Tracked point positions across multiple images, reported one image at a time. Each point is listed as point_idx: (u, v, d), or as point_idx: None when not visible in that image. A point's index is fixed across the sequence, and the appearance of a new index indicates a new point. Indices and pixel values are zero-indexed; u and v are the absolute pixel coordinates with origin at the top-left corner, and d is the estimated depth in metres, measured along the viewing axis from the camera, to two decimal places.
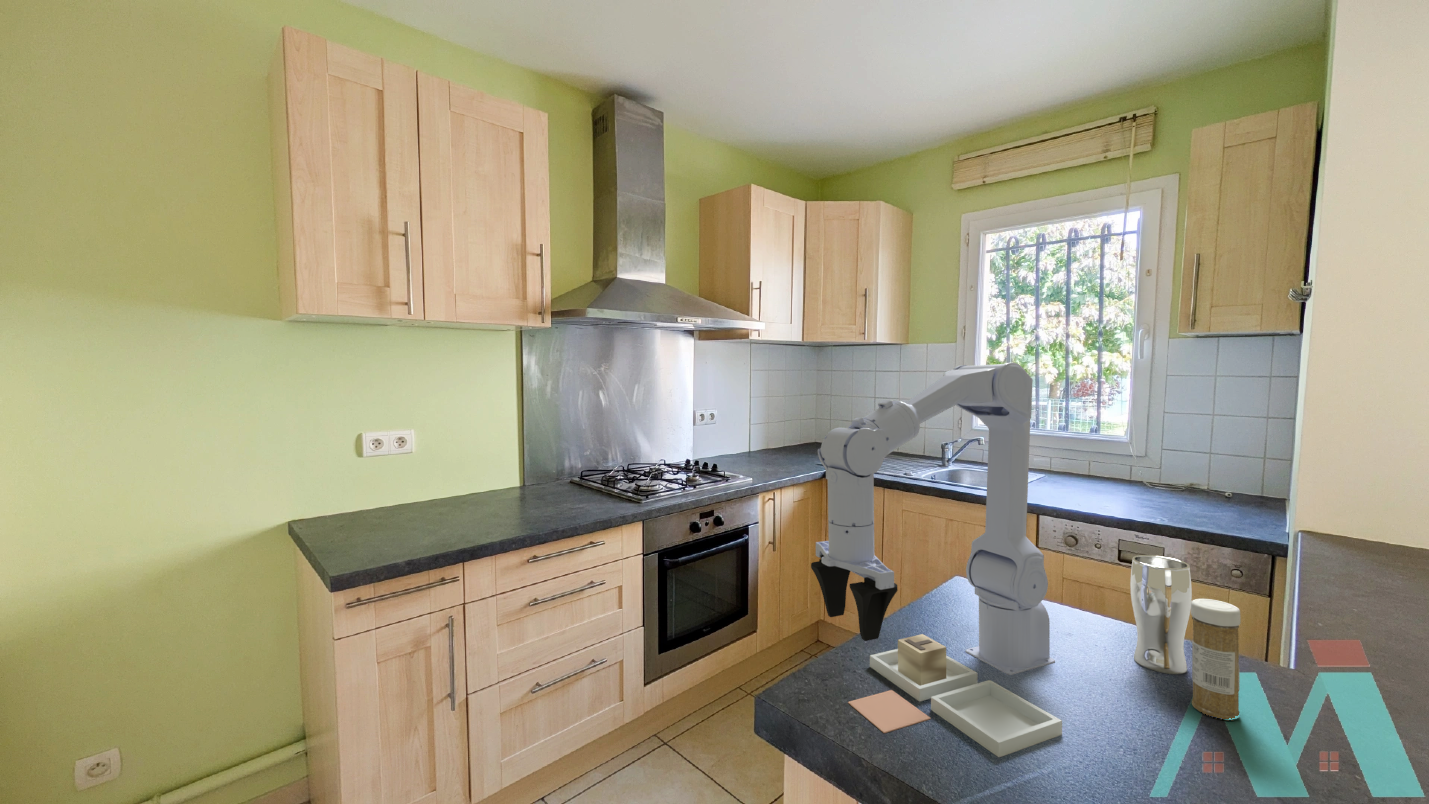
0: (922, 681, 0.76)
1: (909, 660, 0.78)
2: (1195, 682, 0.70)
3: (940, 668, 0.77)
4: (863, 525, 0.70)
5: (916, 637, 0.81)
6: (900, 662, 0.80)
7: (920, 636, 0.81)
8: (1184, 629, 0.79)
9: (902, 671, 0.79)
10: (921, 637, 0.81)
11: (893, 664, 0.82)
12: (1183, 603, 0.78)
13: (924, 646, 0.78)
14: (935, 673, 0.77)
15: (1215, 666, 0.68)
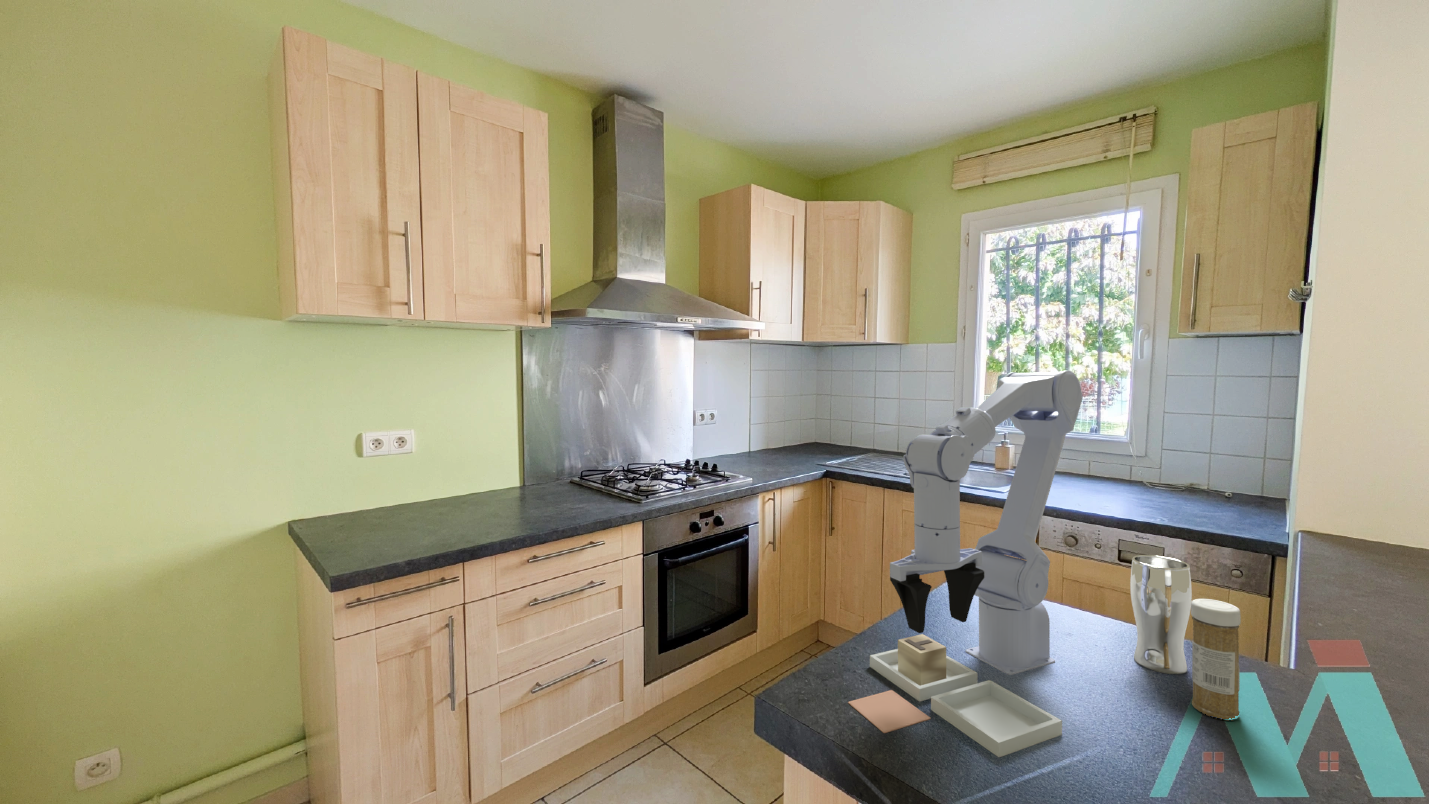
0: (922, 681, 0.76)
1: (909, 660, 0.78)
2: (1195, 682, 0.70)
3: (940, 668, 0.77)
4: (920, 525, 0.75)
5: (916, 637, 0.81)
6: (900, 662, 0.80)
7: (920, 636, 0.81)
8: (1184, 629, 0.79)
9: (902, 671, 0.79)
10: (921, 637, 0.81)
11: (893, 664, 0.82)
12: (1183, 603, 0.78)
13: (924, 646, 0.78)
14: (935, 673, 0.77)
15: (1215, 666, 0.68)
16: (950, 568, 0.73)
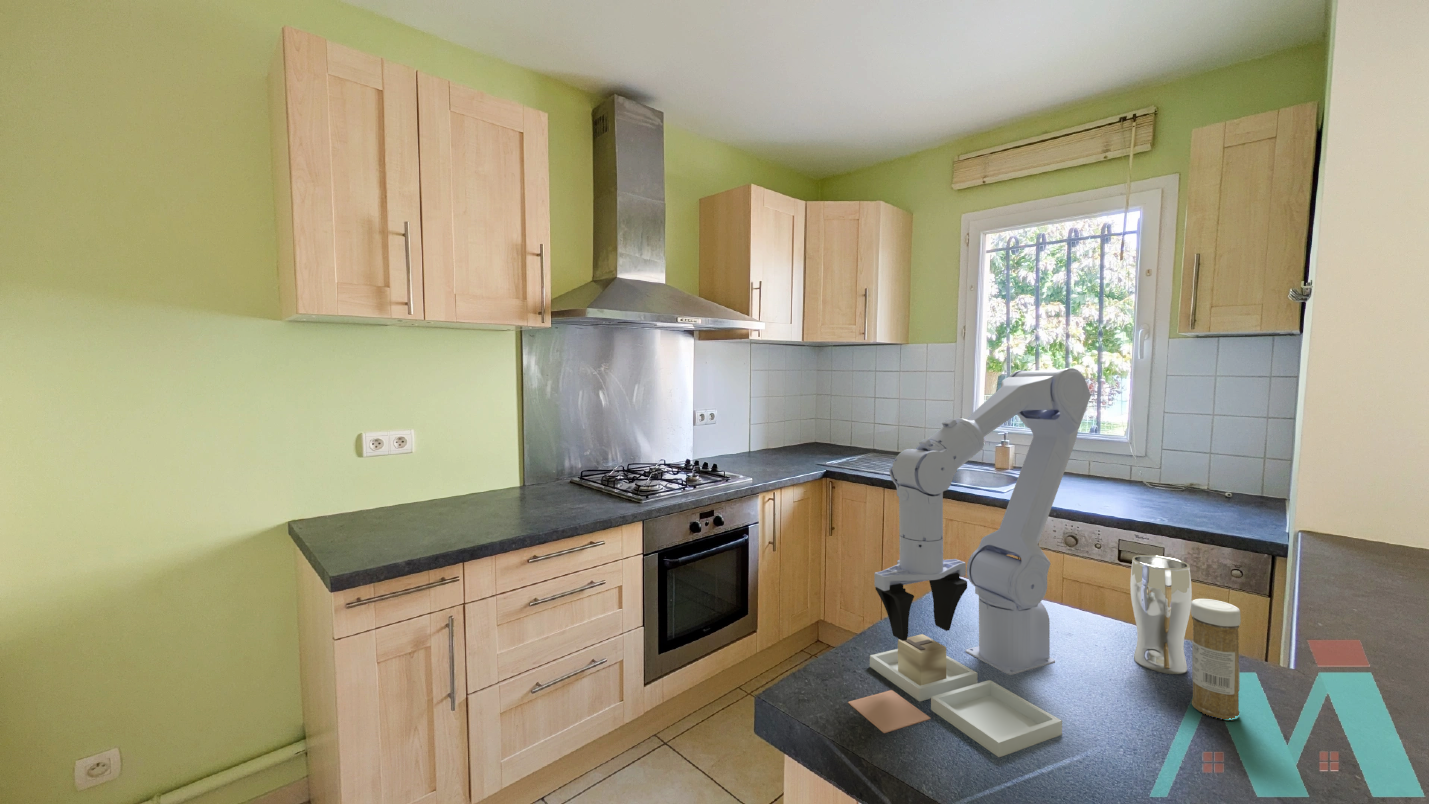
0: (922, 681, 0.76)
1: (909, 660, 0.78)
2: (1195, 682, 0.70)
3: (940, 668, 0.77)
4: (904, 537, 0.78)
5: (916, 637, 0.81)
6: (900, 662, 0.80)
7: (920, 636, 0.81)
8: (1184, 629, 0.79)
9: (902, 671, 0.79)
10: (921, 637, 0.81)
11: (893, 664, 0.82)
12: (1183, 603, 0.78)
13: (924, 646, 0.78)
14: (935, 673, 0.77)
15: (1215, 666, 0.68)
16: (932, 578, 0.76)
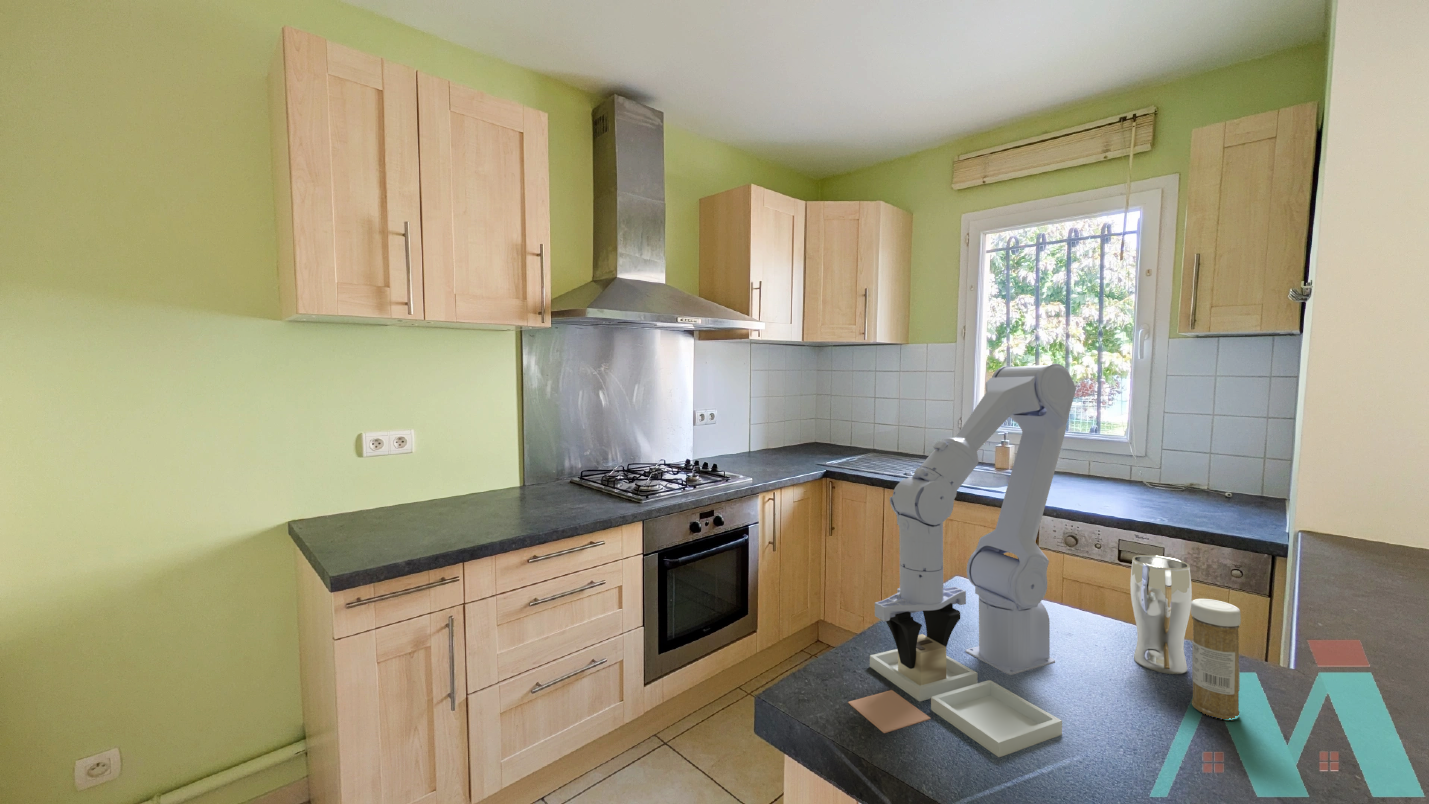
0: (922, 681, 0.76)
1: None
2: (1195, 682, 0.70)
3: (940, 668, 0.77)
4: (904, 566, 0.78)
5: None
6: (900, 662, 0.80)
7: (920, 636, 0.81)
8: (1184, 629, 0.79)
9: (902, 671, 0.79)
10: (921, 637, 0.81)
11: (893, 664, 0.82)
12: (1183, 603, 0.78)
13: (924, 646, 0.78)
14: (935, 673, 0.77)
15: (1215, 666, 0.68)
16: (933, 609, 0.76)
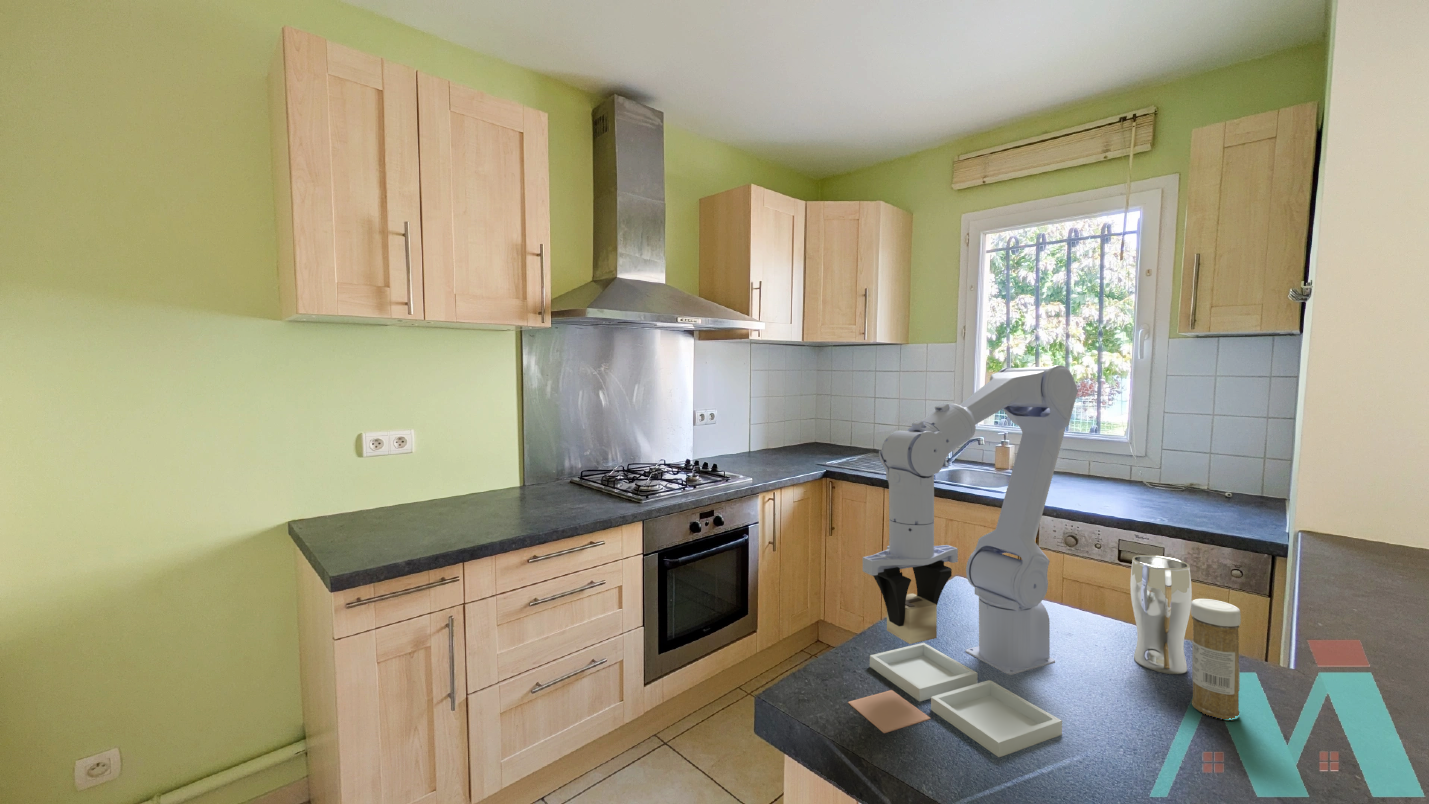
0: (911, 639, 0.74)
1: None
2: (1195, 682, 0.70)
3: (930, 626, 0.75)
4: (894, 521, 0.75)
5: (906, 596, 0.78)
6: None
7: (910, 595, 0.78)
8: (1184, 629, 0.79)
9: (891, 630, 0.77)
10: (912, 596, 0.78)
11: (893, 664, 0.82)
12: (1183, 603, 0.78)
13: (913, 604, 0.75)
14: (925, 631, 0.74)
15: (1215, 666, 0.68)
16: (922, 563, 0.73)
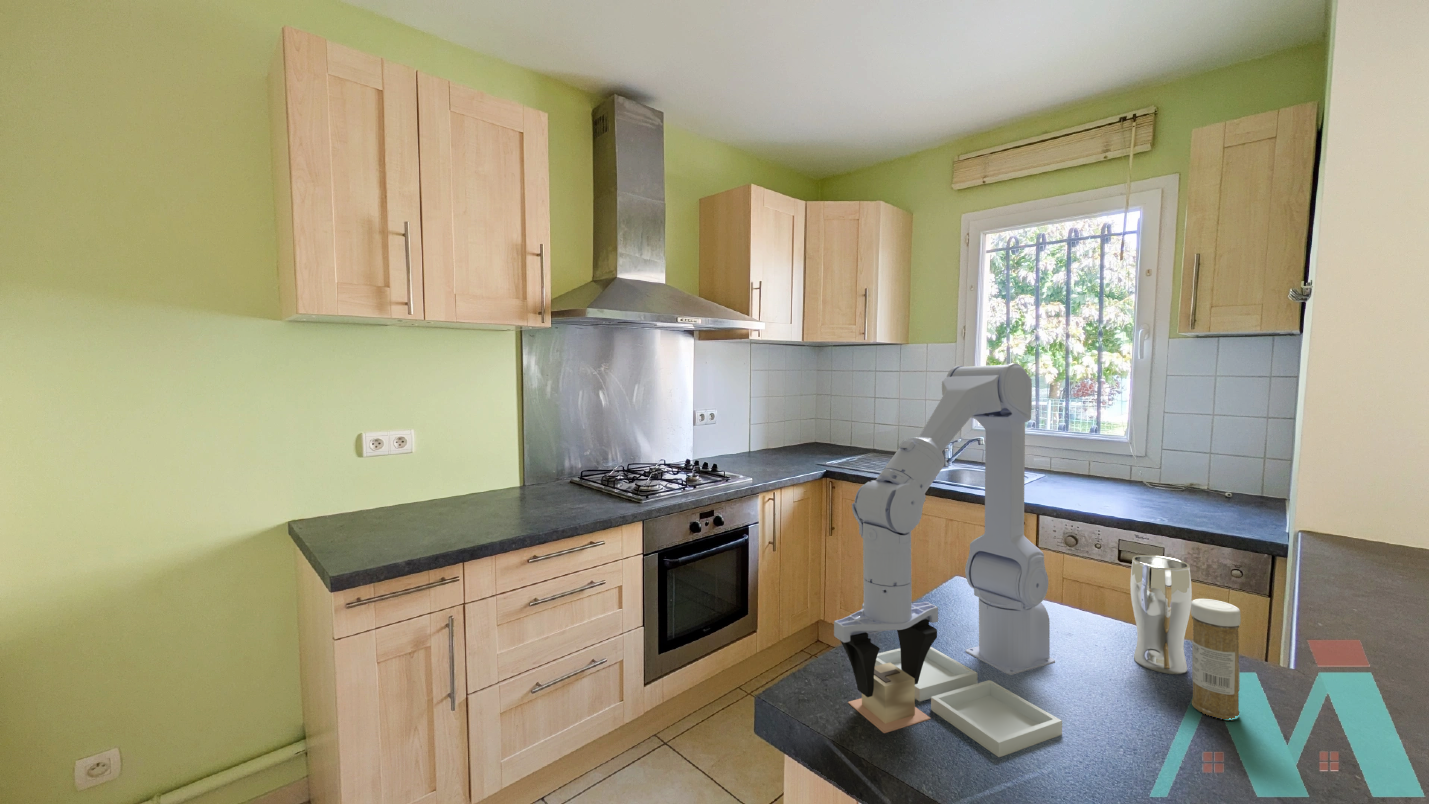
0: (887, 718, 0.68)
1: (873, 693, 0.70)
2: (1195, 682, 0.70)
3: (908, 702, 0.69)
4: (868, 580, 0.69)
5: (882, 666, 0.72)
6: None
7: (887, 665, 0.73)
8: (1184, 629, 0.79)
9: (866, 705, 0.71)
10: (888, 666, 0.72)
11: (893, 664, 0.82)
12: (1183, 603, 0.78)
13: (890, 678, 0.69)
14: (902, 708, 0.69)
15: (1215, 666, 0.68)
16: (899, 628, 0.67)
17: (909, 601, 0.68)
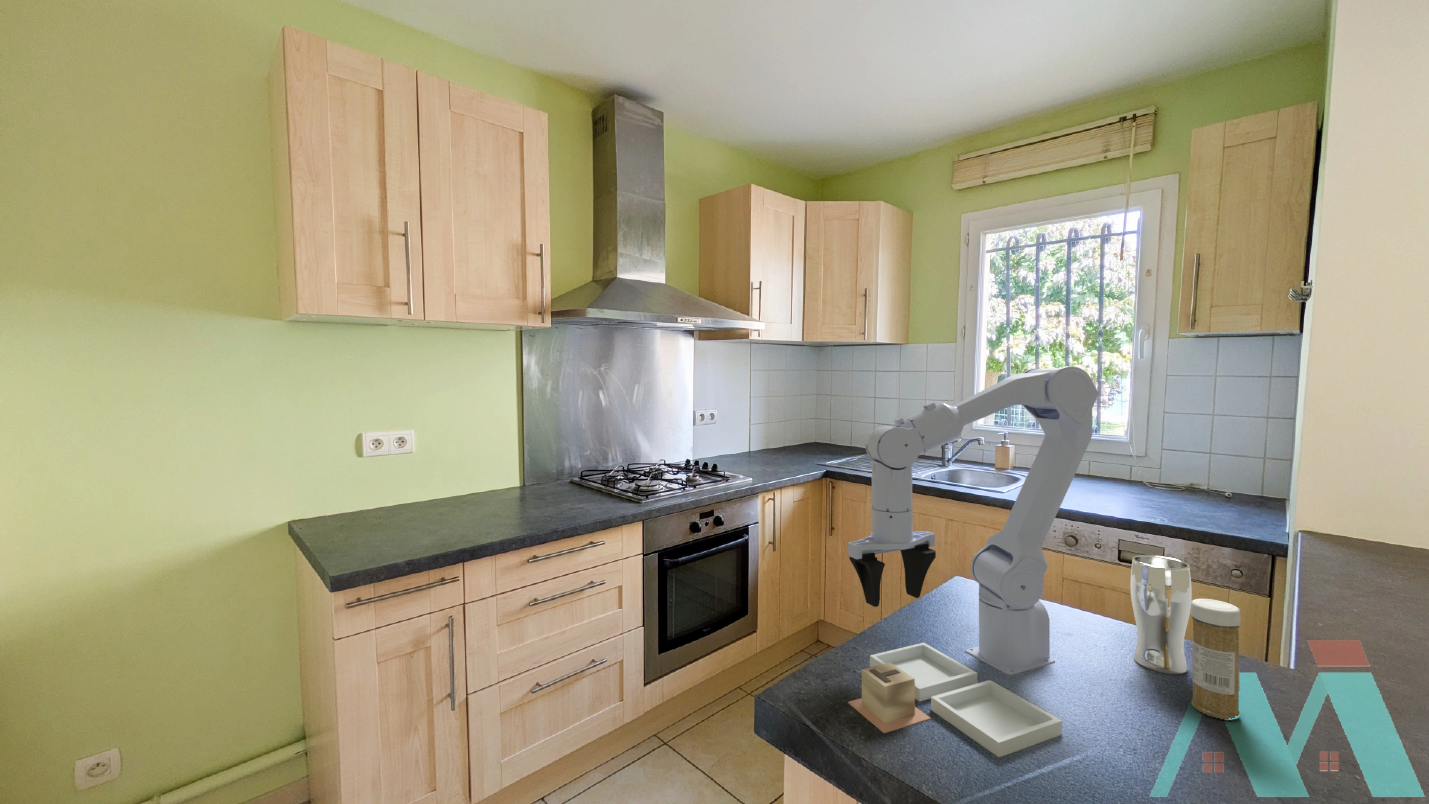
0: (887, 718, 0.68)
1: (873, 693, 0.70)
2: (1195, 682, 0.70)
3: (908, 702, 0.69)
4: (876, 509, 0.82)
5: (882, 666, 0.72)
6: (864, 694, 0.71)
7: (887, 665, 0.73)
8: (1184, 629, 0.79)
9: (866, 705, 0.71)
10: (888, 666, 0.72)
11: (893, 664, 0.82)
12: (1183, 603, 0.78)
13: (890, 678, 0.69)
14: (902, 708, 0.69)
15: (1215, 666, 0.68)
16: (902, 547, 0.80)
17: (911, 525, 0.81)
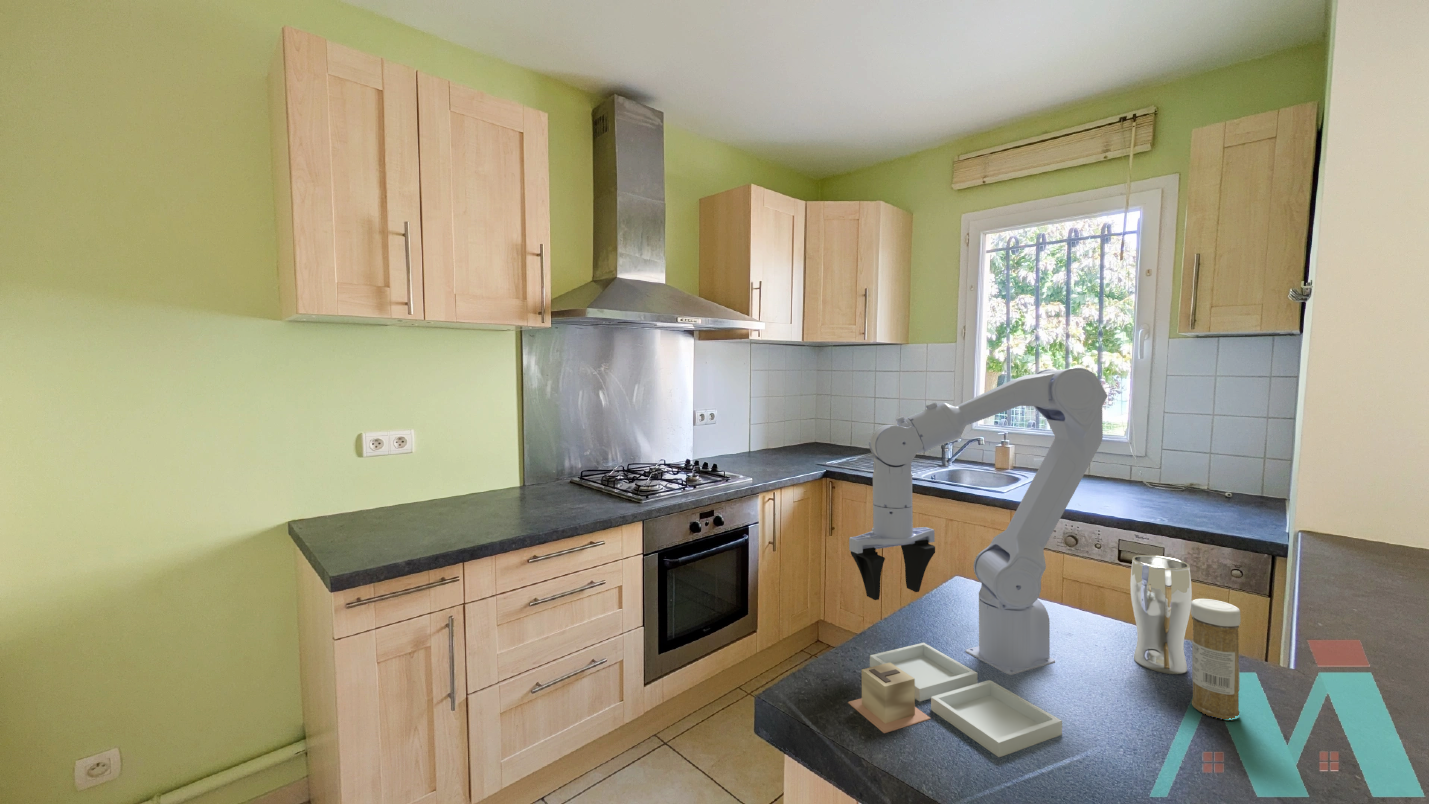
0: (887, 718, 0.68)
1: (873, 693, 0.70)
2: (1195, 682, 0.70)
3: (908, 702, 0.69)
4: (877, 505, 0.84)
5: (882, 666, 0.72)
6: (864, 694, 0.71)
7: (887, 665, 0.73)
8: (1184, 629, 0.79)
9: (866, 705, 0.71)
10: (888, 666, 0.72)
11: (893, 664, 0.82)
12: (1183, 603, 0.78)
13: (890, 678, 0.69)
14: (902, 708, 0.69)
15: (1215, 666, 0.68)
16: (902, 542, 0.82)
17: (910, 521, 0.83)
